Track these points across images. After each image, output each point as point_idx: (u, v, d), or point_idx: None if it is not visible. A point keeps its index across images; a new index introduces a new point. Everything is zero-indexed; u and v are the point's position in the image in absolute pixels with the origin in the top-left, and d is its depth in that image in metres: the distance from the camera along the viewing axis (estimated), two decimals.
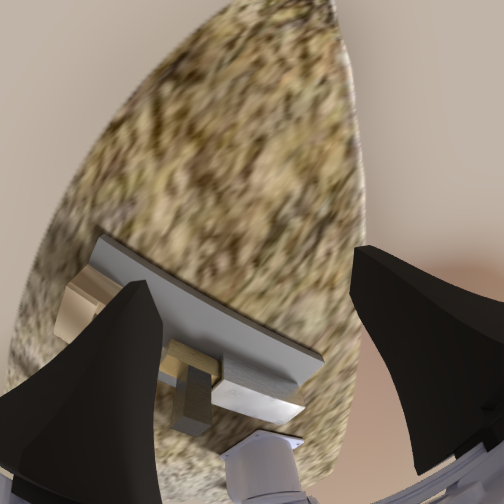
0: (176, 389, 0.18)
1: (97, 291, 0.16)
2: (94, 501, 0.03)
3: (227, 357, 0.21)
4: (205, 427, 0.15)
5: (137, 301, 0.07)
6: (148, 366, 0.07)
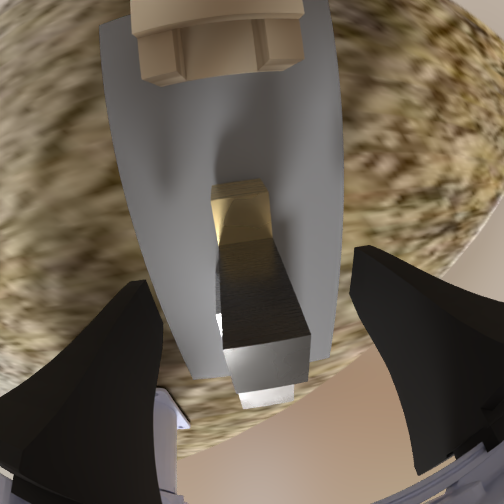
0: (226, 264, 0.09)
1: None
2: (94, 501, 0.03)
3: None
4: (292, 381, 0.07)
5: (137, 301, 0.07)
6: (148, 366, 0.07)
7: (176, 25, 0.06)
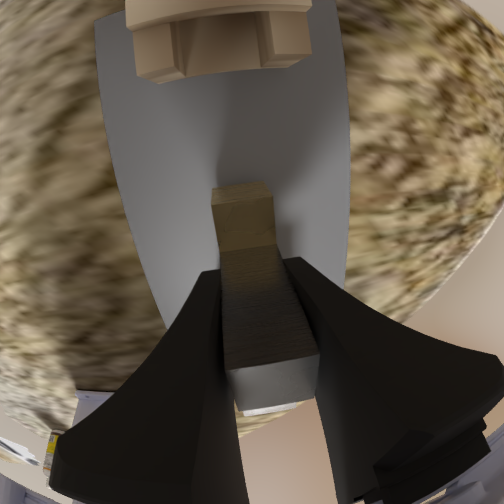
0: (228, 273, 0.08)
1: None
2: None
3: None
4: (297, 398, 0.06)
5: (220, 290, 0.08)
6: None
7: (174, 17, 0.05)
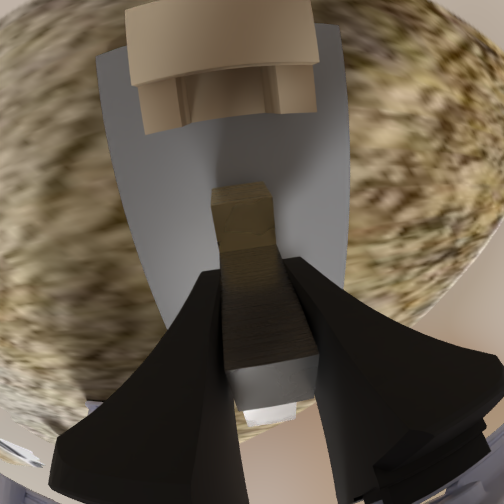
0: (227, 274, 0.08)
1: None
2: None
3: None
4: (297, 398, 0.06)
5: (220, 290, 0.08)
6: None
7: (179, 75, 0.06)
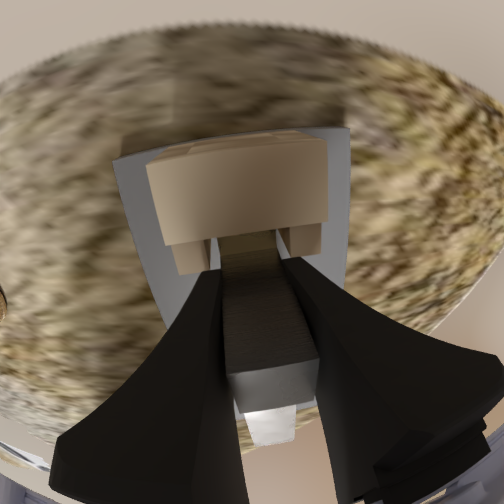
0: (228, 277, 0.08)
1: None
2: None
3: None
4: (297, 401, 0.06)
5: (220, 290, 0.08)
6: None
7: (207, 235, 0.08)
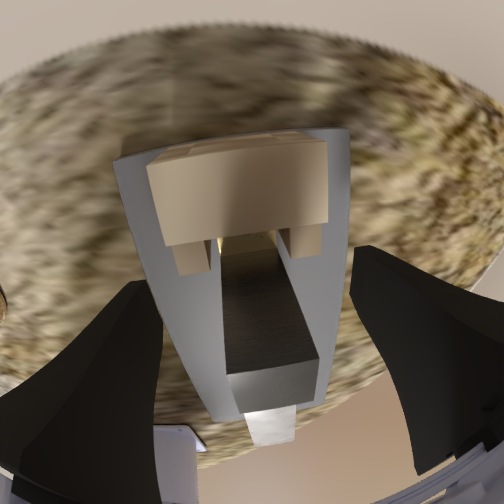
0: (228, 277, 0.08)
1: None
2: (94, 501, 0.03)
3: None
4: (297, 401, 0.06)
5: (137, 301, 0.07)
6: (148, 366, 0.07)
7: (207, 235, 0.08)
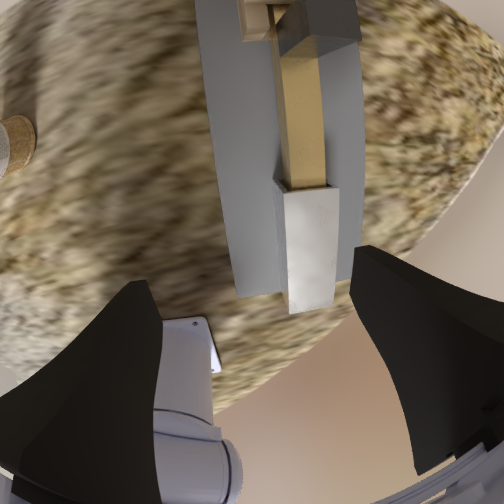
0: None
1: None
2: (94, 501, 0.03)
3: None
4: (350, 34, 0.07)
5: (137, 301, 0.07)
6: (148, 366, 0.07)
7: (271, 1, 0.09)
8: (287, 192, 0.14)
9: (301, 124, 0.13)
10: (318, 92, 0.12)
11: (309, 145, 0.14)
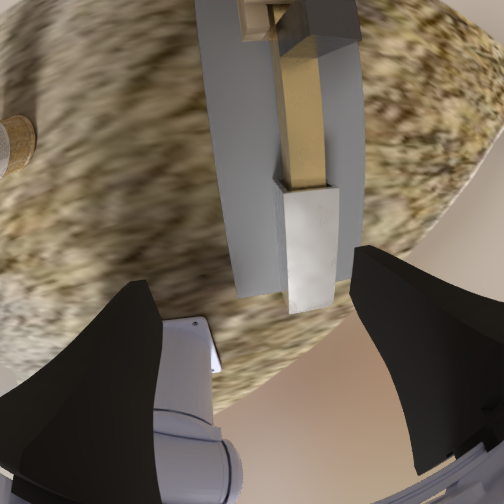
0: None
1: None
2: (94, 501, 0.03)
3: None
4: (350, 34, 0.07)
5: (137, 301, 0.07)
6: (148, 366, 0.07)
7: (271, 1, 0.09)
8: (287, 192, 0.14)
9: (301, 124, 0.13)
10: (318, 92, 0.12)
11: (309, 145, 0.14)
